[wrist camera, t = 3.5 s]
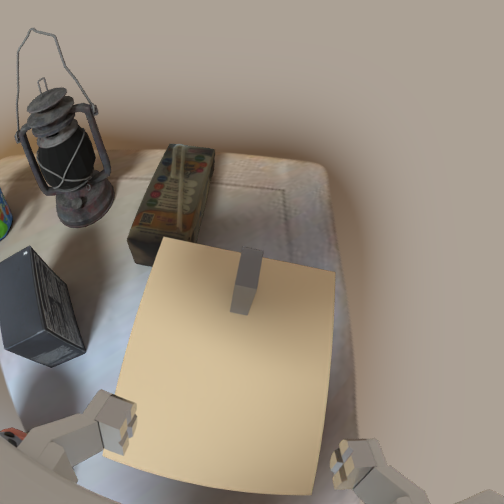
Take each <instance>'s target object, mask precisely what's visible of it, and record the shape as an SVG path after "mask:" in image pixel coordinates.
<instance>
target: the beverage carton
mask: <svg viewBox="0 0 504 504" xmlns="http://www.w3.org/2000/svg"><path fill="white" fill-rule="evenodd" d="M214 157H215V150H214V149H210V148H203V147H194V146H187V145H183V144H169V146H168V148H167V150H166V152H165V153H164V156H163V157H162V159H161V161H160V163H159V165H158V167H157V169H156V171H155V173H154V176H153V178H152V180H151V182H150V184H149V186H148V188H147V191H146V193H145V195H144V197H143V200H142V202H141V204H140V207H139V209H138V212H137V214H136V217H135V219H134V222H133V224H132V227H131V229H130V233H129V235H128V238H127V242H128V245H129V248H130V250H131V253H132V256H133V259H134V261H135V263H136V264H140V265H145V266H151V267H153V264H154V261H155V259H156V256H157V253H158V250H159V248H160V245H161V242H162V240H163V237H167V238H172V239H177V240H182V241H186V242H191V243H196V241H197V237H198V232H199V228H200V224H201V220H202V216H203V212H204V208H205V204H206V200H207V195H208V191H209V186H210V181H211V177H212V174H213V171H214V162H215V160H214Z"/></svg>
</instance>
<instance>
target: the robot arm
mask: <svg viewBox="0 0 504 504" xmlns="http://www.w3.org/2000/svg"><path fill="white" fill-rule="evenodd" d="M136 410H137V403H135V402H132V401H129V400H127V399H124V398H122V397H119V396H117V395H114V394H112V393H109V392H107V391H104V390H102V389H101V390H99V391H98V392H97V394H96V395H95V396H94V398H93V399H92V401H91V402H90V404H89V405H88V406H87V408H86V409H85V411H84V412H83V413H82V414H80V413H77V414H75V415H72V416H69V417H66V418H63V419H60V420H57V421H54V422H51V423H47V424H44V425H41V426H38V427H34V428H32V429H31V431H30V432H29V433H28V434H27V436H26V437H25V438H24V439H23V441H22V442H21V443H20V445H19V446H18V447H17V448H16V447H15V446H13V445H12V444H11V443H9V442H8V441H7V440H5V439H4V438H3V437H2V436H0V504H121V503H119V502H116V501H114V500H111V499H109V498H106V497H104V496H101V495H99V494H97V493H95V492H92V491H90V490H88V489H86V488H84V487H82V486H80V485H78V484H77V482H78V479H77V476H76V474H75V472H74V470H73V468H72V467H73V466H75V465H77V464H79V463H80V462H82V461H84V460H86V459H88V458H90V457H92V456H93V455H95V454H97V453H99V452H101V451H102V450H104V449H106V450H109V451H111V452H114V453H117V454H119V455H122V456H124V454H125V452H126V450H127V448H128V446H129V438H131V437H133V435H134V433H135V430H136V426H137V415H136V414H135V412H136ZM339 447H340V448H338V449H337V450H335V451H334V452H333V454H332V455H331V459H330V469H331V471H332V472H333V473H334V474H335V475H334V476H333V478H332V479H333V484H334V489H335V490H350V489H353V491H354V492H355V493H356V495H357V496H358V497H359V498H360V499H361V500H362V501H363V502H364V503H365V504H430V502H429V499H428V497H427V494H426V492H425V491H424V490H423V489H421V488H420V487H418V486H417V485H416V484H415V483H413V482H412V481H410V480H409V479H408V478H406V477H405V476H404V475H402V474H401V473H400V472H398V471H397V470H396V469H395V468H393V467H392V466H388V465H387V462H386V460H385V457H384V454H383V452H382V449H381V447H380V444H379V442H378V440H377V439H344V440H342V441H341V442H340V444H339ZM103 448H104V449H103ZM455 504H504V496H502V495H501V494H499V493H497V492H495V491H493V490H485V491H482V492H480V493H478V494H476V495H474V496H471V497H469V498H467V499H464V500H462V501H460V502H457V503H455Z"/></svg>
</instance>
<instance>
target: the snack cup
mask: <svg viewBox="0 0 504 504" xmlns="http://www.w3.org/2000/svg"><path fill="white" fill-rule="evenodd" d="M12 220H13V218H12V214H11V211H10V209H9V206H8V204H7V202H6V200H5V197H4V195H3V193H2V191H1V188H0V240H1V239H2V238H3V237H5V236H6V235H7V232H8V230H9V228H10V226H11V223H12Z"/></svg>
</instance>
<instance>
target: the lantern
mask: <svg viewBox="0 0 504 504" xmlns="http://www.w3.org/2000/svg"><path fill="white" fill-rule="evenodd" d="M31 30H33V31H34V32H36V33H40V34H44V35H48V36H53V37H54V39H55V42H56V45H57V48H58V51H59V54H60V57H61V60H62V62H63V65H64V68H65V69H66V70H67V71H68V73H69V74H70V75H71V76H72V77H73V79H74V80H75V81H76V83H77V84H78V86H79V88H80V89H81V91H82V92H83V94H84V95H85V97H86V98H87V100H88V101H89V103H90V105H88V104H85V103H81V104H76V105H73V104H74V100H73V98H72V97H70V96H65V95H66V93H67V90H66V89H65V88H54V89H51V90H48V88H47V84H46V80H45V78H41V79H40V80H38V82H37V83H38V87H39V90H40V95H39V96H37V97H36V98H35V99H34V100H33V101H32V102H31V103H30V104H29V106H28V107H27V111H28V112H29V113H31V115H30V116H29V118H28V120H27V123H26V124H25V125H23V126H22V128H21V130H19V117H18V98H19V51H20V49H21V47H22V46H23V44H24V43H25V41H26V40H27V38H28V37H29V34H30V31H31ZM42 79H44V82H45V86H46V89H47V91H46V92H44V93H42V92H41V88H40V85H39V81H41V80H42ZM95 111H96V112H95ZM75 112H83V113H85V114H86V117H87V120H88V123H89V126H90V129H91V132H92V135H93V138H94V141H95V144H96V147H97V150H98V152H99V155H100V158H101V161H102V163H103V167H104V170H102V171H101V172H99V171H97V170H94V167H93V166H94V162H95V159H96V157H95V153H94V150H93V147H92V143H91V141H90V139H89V136H88V134H87V133H86V132H85V130H84V128H81V127H80V126H79V125H78V122H77V120H75V119H74V116H75ZM16 114H17V126H18V127H17V128H18V131H17V132H16V134H15V140H16V143H20V142H21V143H22V146H23V149H24V152H25V154H26V157H27V159H28V162H29V164H30V167H31V169H32V172H33V174H34V176H35V179H36V181H37V183H38V185H39V187H40V189H41V191H42V192H43V193H44V194H45V195H46V196H53V195H56V208H57V213H58V217H59V219H60V221H61V222H62V223H63V224H64V225H66V226H68V227H71V228H81V227H86V226H88V225H91V224H93V223H95V222H96V221H98V220H99V219H101V218H102V217H103V216H104V215H105V214H106V213H107V212H108V210H109V209H110V207H111V206H112V203H113V201H114V189H113V186H112V185H111V183H110V182H109V181H108V179H107V177H108V176H110V173H111V166H110V161H109V158H108V155H107V153H106V150H105V147H104V144H103V141H102V139H101V136H100V133H99V130H98V127H97V124H96V121H95V118H94V116H95V115H98V110H97V106H96V105H94V104H93V103H92V102H91V101H90V99H89V98H88V96H87V95H86V93H85V91H84V90H83V88H82V87H81V85H80V84H79V82H78V80H77V79H76V77H75V76H74V75H73V74H72V73H71V72H70V70H69V69H68V68H67V66H66V64H65V61H64V58H63V55H62V52H61V50H60V47H59V44H58V40H57V37H56V36H55V35H54V34H50V33H46V32H42V31H37V30H36V29H35V28H31V29H30V30H29V31H28V34H27V36H26V38H25V39H24V41H23V42H22V44H21V45H20V47H19V49H18V51H17V99H16ZM31 128H32V133H33V135H34V136H35V137H38V139H37V145H38V146H39V149H38V151H37V161H38V163H39V166H40V169H41V171H40V169H39V166H38V164H37V162H36V159H35V157H34V154H33V152H32V149H31V147H30V144H29V141H28V138H27V135H26V132H27V130H30V129H31ZM41 172H42V173H41ZM42 174H43V176H44V178H45V180H46V182H47V183H48V184H49V185H50V186H52V187H49V186H48V185H47V184H46V182H45V180H44V178H43V176H42Z"/></svg>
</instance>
